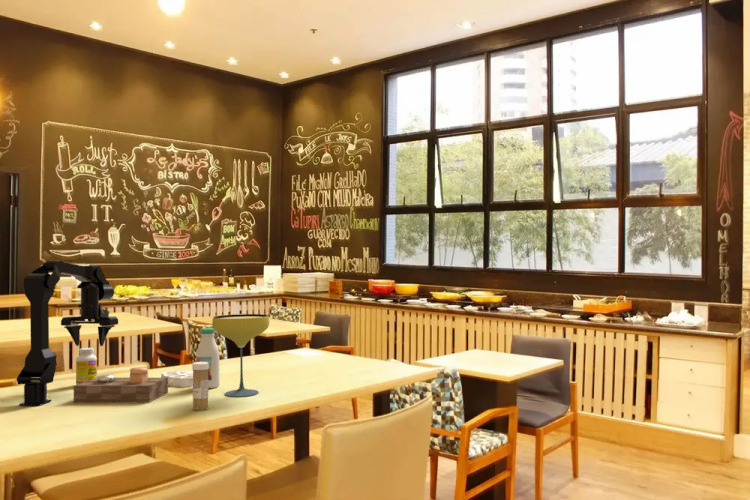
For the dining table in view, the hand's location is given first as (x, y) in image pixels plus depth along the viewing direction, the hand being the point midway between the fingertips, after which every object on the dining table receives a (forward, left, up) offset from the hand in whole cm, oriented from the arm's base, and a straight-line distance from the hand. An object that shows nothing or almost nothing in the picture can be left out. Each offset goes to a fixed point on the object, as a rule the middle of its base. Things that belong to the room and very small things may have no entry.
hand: (89, 345), depth 214 cm
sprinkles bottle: (-32, -51, -14) cm, 62 cm away
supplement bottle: (+3, +3, -14) cm, 15 cm away
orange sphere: (-17, -26, -10) cm, 33 cm away
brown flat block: (-17, -20, -14) cm, 30 cm away
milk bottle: (0, -42, -14) cm, 45 cm away
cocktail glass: (-11, -57, -14) cm, 60 cm away
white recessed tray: (+8, -30, -15) cm, 35 cm away
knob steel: (-17, -15, -13) cm, 26 cm away
